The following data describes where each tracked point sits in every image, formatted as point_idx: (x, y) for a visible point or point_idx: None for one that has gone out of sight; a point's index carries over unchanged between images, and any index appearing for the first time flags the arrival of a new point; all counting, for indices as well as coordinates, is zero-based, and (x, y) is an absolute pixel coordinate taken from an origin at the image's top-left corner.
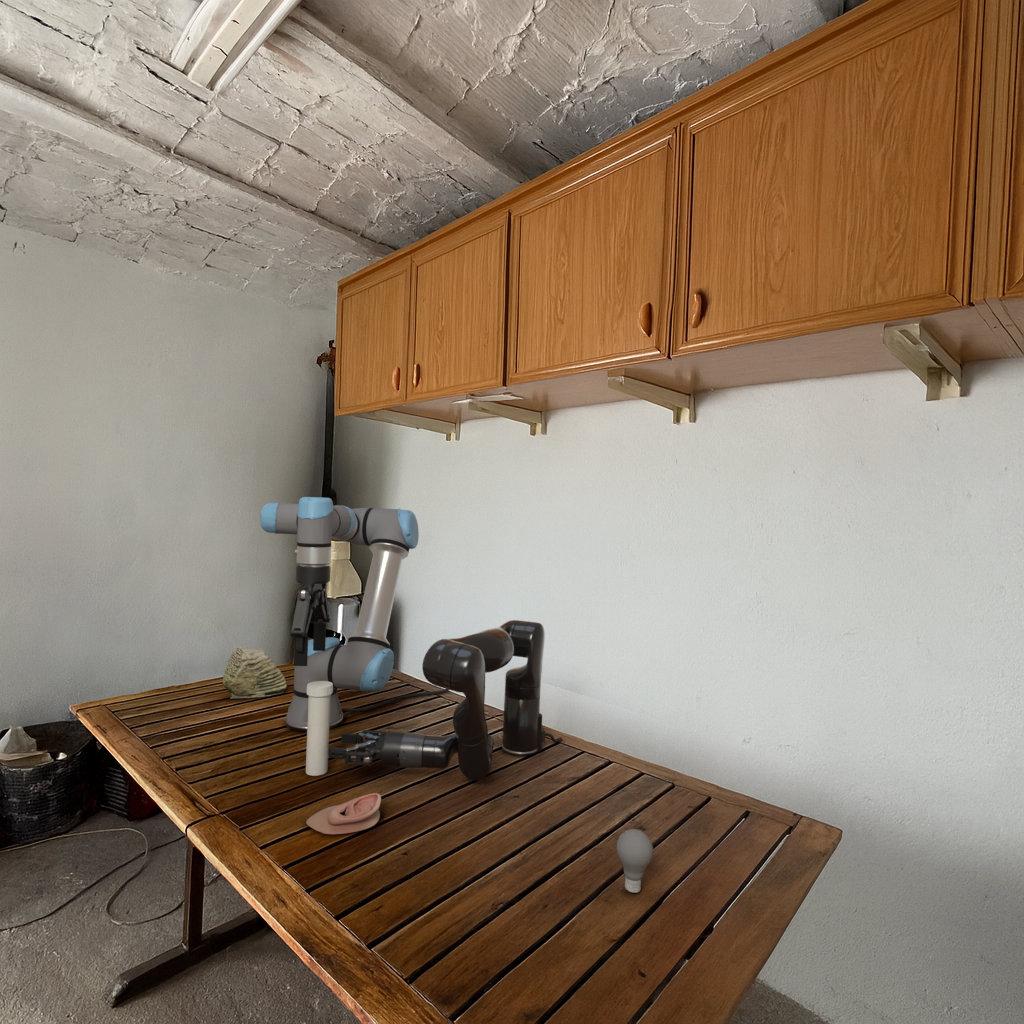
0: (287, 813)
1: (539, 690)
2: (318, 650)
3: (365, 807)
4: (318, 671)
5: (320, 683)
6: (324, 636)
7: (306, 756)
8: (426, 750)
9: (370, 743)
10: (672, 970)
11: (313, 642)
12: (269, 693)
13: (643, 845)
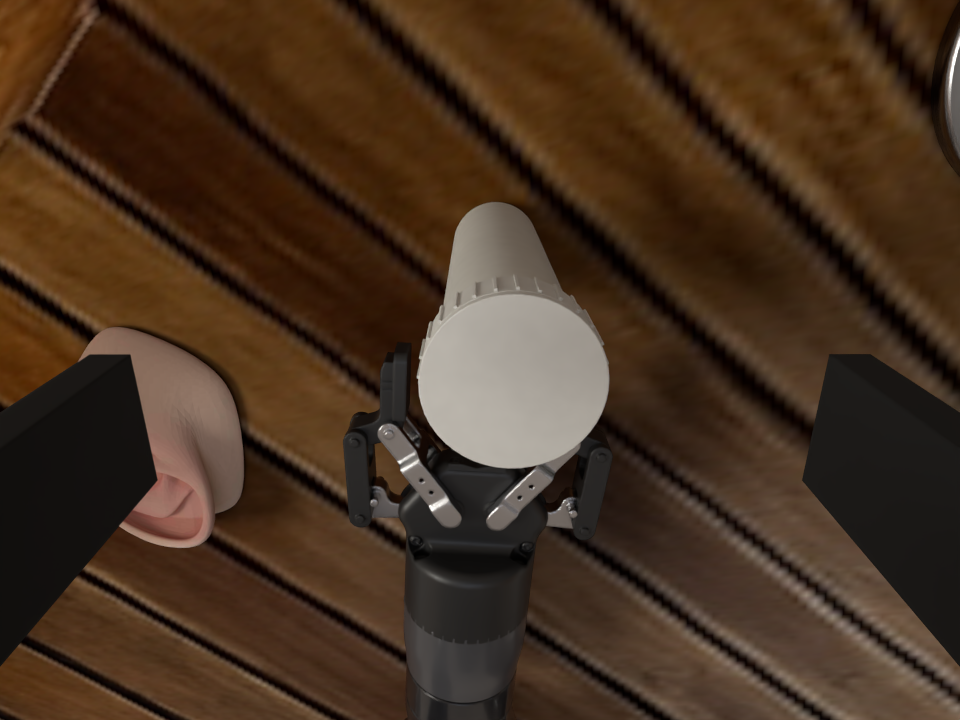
0: (161, 245)
1: None
2: (818, 419)
3: (153, 504)
4: None
5: (536, 383)
6: (910, 603)
7: (474, 219)
8: (410, 683)
9: (433, 512)
10: None
11: (889, 403)
12: None
13: None
